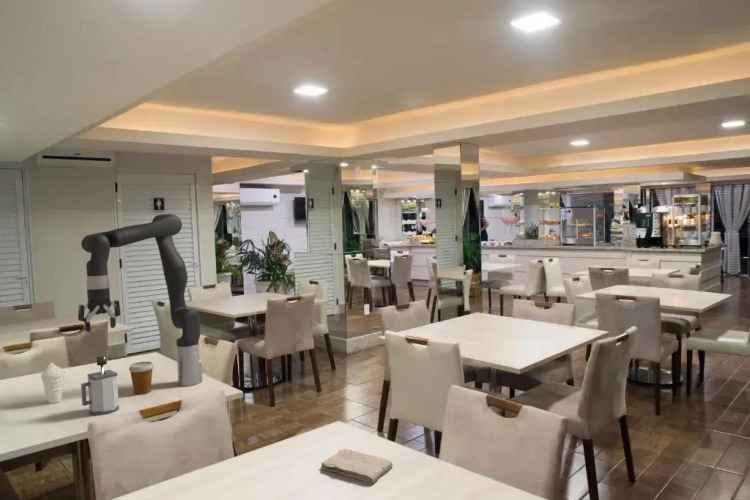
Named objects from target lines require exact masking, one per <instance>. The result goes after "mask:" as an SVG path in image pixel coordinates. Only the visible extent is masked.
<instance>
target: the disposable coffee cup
mask: <svg viewBox="0 0 750 500" xmlns="http://www.w3.org/2000/svg"><path fill="white" fill-rule="evenodd" d="M153 368H154V364H153V362H151V361H138V362H134V363H131V364H130V365H129V368H128V370H129V372H130V378H131V381H132V386H133V388H132V389H133V393H134V395H137V396H140V395H142V396H143V395H146V394H149V393H151V391H152V378H153Z"/></svg>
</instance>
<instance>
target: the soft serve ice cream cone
mask: <svg viewBox="0 0 750 500" xmlns="http://www.w3.org/2000/svg"><path fill="white" fill-rule="evenodd" d="M65 375H66V372H65V370H64V369H63V368H62V367H60V366H58V365H56V364H54V362H50V363H48V364H47V366H46V369H45V370H44V371H43V372H42V373H41V376H40V378H41V381H42V383H43V388H44V390H43V391H44V393H45V395H46V398H47V402H48V404H51V403H52V404H58V403H60V402H61V401H62V395H63V391H64V380H65ZM57 402H58V403H57Z"/></svg>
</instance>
